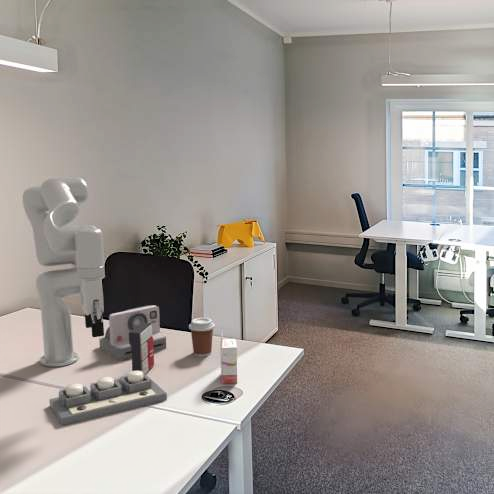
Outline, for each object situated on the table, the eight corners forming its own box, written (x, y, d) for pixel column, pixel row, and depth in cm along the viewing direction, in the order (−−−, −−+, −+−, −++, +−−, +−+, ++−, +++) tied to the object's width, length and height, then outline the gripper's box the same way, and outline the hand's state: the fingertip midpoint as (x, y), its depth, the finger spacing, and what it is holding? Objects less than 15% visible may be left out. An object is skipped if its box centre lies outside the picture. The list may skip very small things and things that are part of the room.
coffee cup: (186, 350, 213) (185, 318, 211) (210, 347, 216) (210, 315, 214) (193, 359, 204) (192, 325, 202) (218, 355, 207) (218, 322, 205)
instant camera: (113, 362, 203) (110, 320, 200) (95, 345, 220) (93, 306, 218) (170, 351, 213) (169, 310, 210) (149, 335, 231) (148, 298, 228)
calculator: (143, 378, 188) (141, 333, 185) (130, 377, 189) (128, 332, 186) (155, 365, 199) (153, 322, 196) (143, 365, 200) (141, 322, 197)
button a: (64, 393, 168) (64, 385, 168) (80, 390, 170) (80, 382, 170) (68, 399, 164) (68, 391, 164) (85, 395, 167) (84, 387, 166)
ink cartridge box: (238, 383, 183) (237, 338, 181) (222, 384, 183) (221, 338, 180) (236, 372, 192) (235, 329, 189) (220, 373, 191) (219, 329, 189)
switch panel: (49, 405, 169) (48, 390, 168) (148, 383, 184) (148, 369, 184) (62, 425, 157) (60, 409, 157) (166, 399, 172) (166, 385, 172)
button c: (125, 380, 177) (125, 372, 177) (140, 377, 180) (139, 369, 179) (130, 385, 173) (130, 377, 173) (145, 382, 176) (145, 374, 175)
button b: (95, 386, 173) (95, 379, 172) (111, 383, 175) (110, 375, 175) (100, 392, 169) (100, 384, 168) (116, 388, 171) (115, 381, 171)
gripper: (72, 268, 172) (76, 325, 175) (82, 280, 156) (86, 342, 159) (98, 266, 175) (101, 322, 178) (111, 277, 159) (114, 338, 162)
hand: (94, 331), depth 168 cm, fingers open, 9 cm apart
